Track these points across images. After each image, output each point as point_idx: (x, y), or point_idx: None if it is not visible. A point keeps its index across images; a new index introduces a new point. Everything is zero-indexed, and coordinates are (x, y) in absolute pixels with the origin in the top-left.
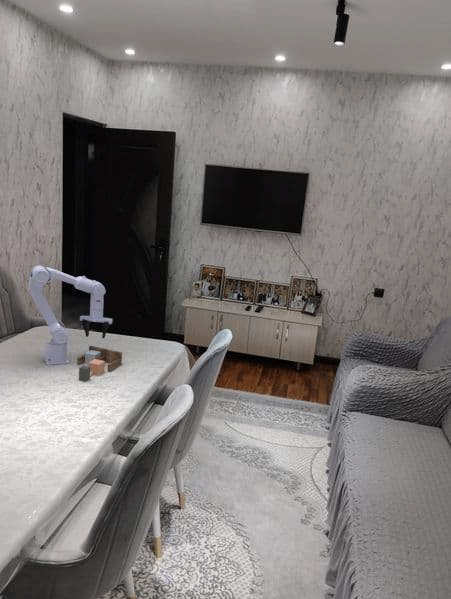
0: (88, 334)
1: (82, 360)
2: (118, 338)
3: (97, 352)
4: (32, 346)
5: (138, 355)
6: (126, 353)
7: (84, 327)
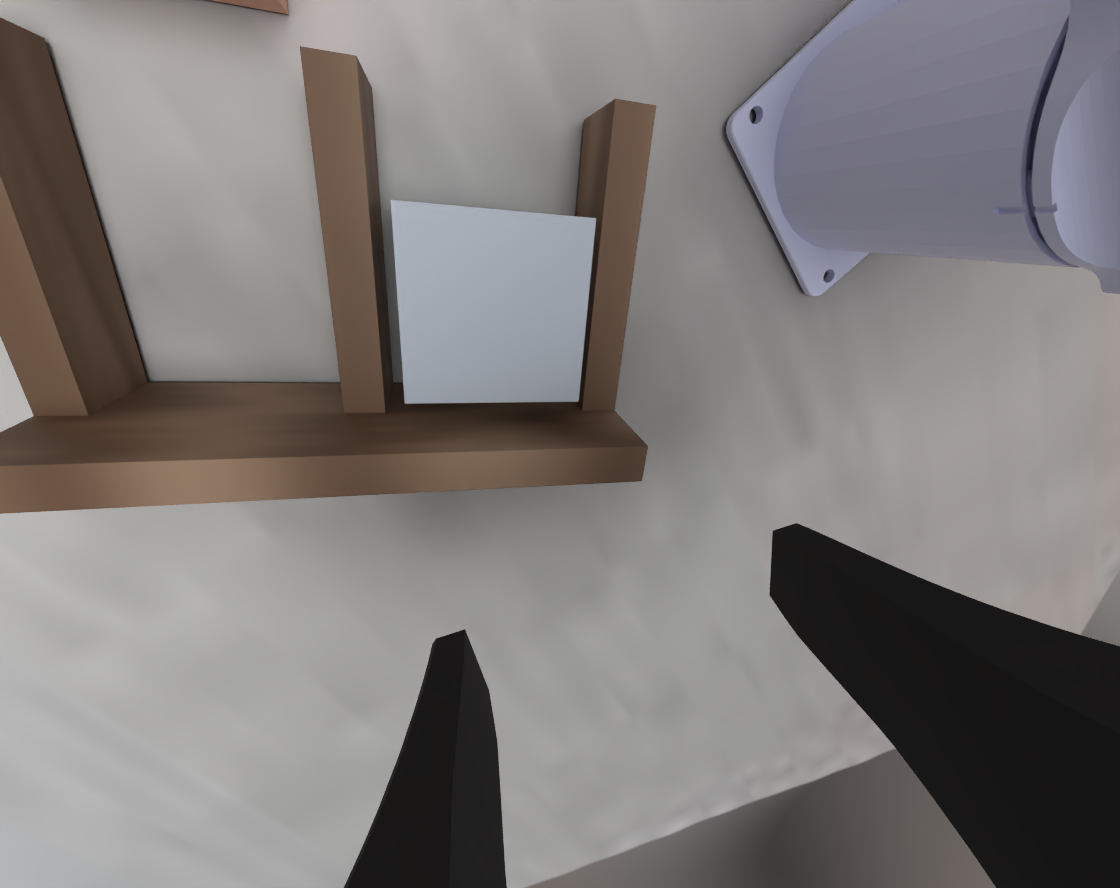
0: (786, 601)
1: (589, 198)
2: (590, 826)
3: (437, 353)
4: (1095, 387)
5: (209, 719)
6: (347, 689)
7: (1075, 653)
